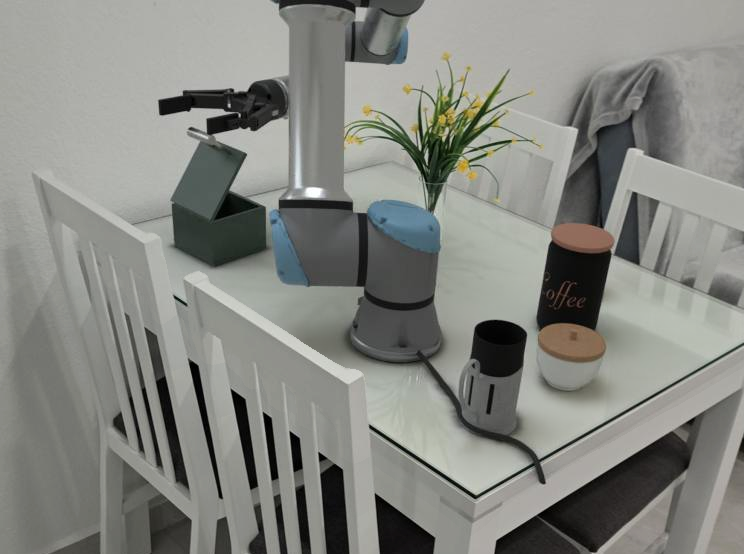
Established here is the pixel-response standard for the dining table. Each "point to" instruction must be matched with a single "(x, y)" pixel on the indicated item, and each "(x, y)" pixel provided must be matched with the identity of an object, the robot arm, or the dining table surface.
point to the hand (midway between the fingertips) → (183, 117)
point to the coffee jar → (574, 275)
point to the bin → (221, 230)
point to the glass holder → (493, 376)
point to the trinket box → (569, 355)
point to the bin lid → (208, 175)
